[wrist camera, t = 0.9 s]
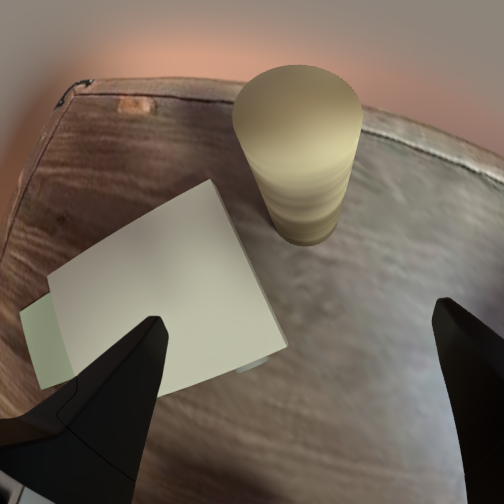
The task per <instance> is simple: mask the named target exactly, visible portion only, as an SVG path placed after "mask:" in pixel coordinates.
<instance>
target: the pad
mask: <svg viewBox="0 0 504 504" xmlns="http://www.w3.org/2000/svg"><path fill="white" fill-rule="evenodd" d="M20 317H21V321H22V326H23V330H24V334H25V338H26V342H27V346H28V349H29V353H30V356H31V360H32V363H33V366H34V370H35V373H36V376H37V379H38V382H39V385H40V388H41V390H43V389H46V388H49V387H52V386H55V385H57V384H60V383H63V382H65V381H68V380H71V379H73V378H74V377H75V375H74V372H73V369H72V366H71V364H70V361H69V358H68V354H67V351H66V348H65V345H64V342H63V338H62V335H61V332H60V328H59V325H58V321H57V317H56V313H55V309H54V305H53V301H52V297H51V293H48V294H47V295H45V296H44V297H42V298H40V299H39V300H37V301H36V302H34V303H33V304H31V305H30V306H28V307H27V308H25V309H24V310H23V311H21V312H20Z"/></svg>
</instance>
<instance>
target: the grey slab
mask: <svg viewBox="0 0 504 504" xmlns="http://www.w3.org/2000/svg"><path fill="white" fill-rule="evenodd" d="M47 279H48V284H49V288H50V293H51V297H52V301H53V305H54V309H55V313H56V317H57V321H58V325H59V328H60V332H61V335H62V338H63V342H64V345H65V348H66V351H67V354H68V358H69V361H70V364H71V366H72V369H73V372H74V375H75V376H76V375H78V374H79V373H80V372H81V371H82V370H83V369H85V368H86V367H87V366H88V365H89V364H91V363H92V362H93V361H94V360H95V359H97V358H98V357H99V356H100V355H101V354H103V353H104V352H105V351H106V350H108V349H109V348H110V347H111V346H112V345H114V344H115V343H116V342H117V341H118V340H120V339H121V338H122V337H123V336H124V335H126V334H127V333H128V332H129V331H131V330H132V329H133V328H134V327H135V326H137V325H138V324H139V323H140V322H142V321H143V320H144V319H145V318H146V317H148V316H160V317H161V318H162V320H163V322H164V324H165V327H166V329H167V331H168V334H169V341H168V347H167V353H166V359H165V365H164V371H163V377H162V381H161V385H160V388H159V392H158V396H157V397H159V396H162V395H165V394H168V393H171V392H174V391H177V390H180V389H183V388H186V387H189V386H191V385H194V384H197V383H200V382H202V381H205V380H208V379H210V378H213V377H216V376H218V375H221V374H223V373H226V372H229V371H231V370H234V369H235V370H236V372H237V373H241V372H244V371H247V370H249V369H252V368H254V367H256V366H258V365H261V364H263V363H264V362H266V361H268V360H269V359H268V357H267V355H270V354H272V353H274V352H277V351H279V350H281V349H283V348H286V347H287V346H288V342H287V340H286V338H285V336H284V333H283V331H282V329H281V327H280V325H279V323H278V320H277V318H276V316H275V314H274V312H273V310H272V307H271V305H270V303H269V301H268V299H267V297H266V294H265V292H264V290H263V288H262V286H261V283H260V281H259V279H258V277H257V275H256V273H255V270H254V268H253V266H252V264H251V262H250V260H249V257H248V255H247V253H246V251H245V249H244V246H243V244H242V242H241V240H240V238H239V235H238V233H237V231H236V229H235V227H234V225H233V222H232V220H231V218H230V216H229V214H228V211H227V209H226V207H225V205H224V203H223V200H222V198H221V196H220V194H219V192H218V189H217V187H216V186H215V185H214V183H213V182H212V181H211V179H209V180H207V181H205V182H203V183H201V184H199V185H197V186H195V187H194V188H192V189H190V190H188V191H186V192H184V193H182V194H181V195H179V196H177V197H175V198H173V199H171V200H170V201H168V202H166V203H164V204H162V205H161V206H159V207H157V208H155V209H154V210H152V211H150V212H148V213H147V214H145V215H143V216H141V217H140V218H138V219H136V220H135V221H133V222H131V223H130V224H128V225H126V226H124V227H123V228H121V229H119V230H118V231H116V232H115V233H113V234H111V235H110V236H108V237H106V238H105V239H103V240H102V241H100V242H98V243H97V244H95V245H94V246H92V247H90V248H89V249H87V250H86V251H84V252H83V253H81V254H80V255H78V256H76V257H75V258H73V259H72V260H70V261H69V262H67V263H66V264H64V265H63V266H61V267H60V268H58V269H57V270H55V271H54V272H52V273H51V274H50V275H48V276H47Z"/></svg>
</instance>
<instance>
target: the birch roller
mask: <svg viewBox="0 0 504 504" xmlns="http://www.w3.org/2000/svg"><path fill="white" fill-rule="evenodd" d="M362 121H363V112H362V106H361V103H360V101H359V98H358V96H357V95H356V93H355V92H354V90H353V89H352V88H351V87H350V85H349V84H347V82H345V81H344V80H343V79H342V78H340V77H339V76H337V75H335V74H333V73H331V72H329V71H327V70H324V69H321V68H318V67H314V66H307V65H288V66H281V67H277V68H274V69H271V70H268V71H266V72H264V73H262V74H260V75H258V76H257V77H255V78H254V79H252V80H251V81H249V82H248V83H247V84H246V85H245V86H244V87H243V89H242V90H241V91H240V93H239V94H238V96H237V98H236V100H235V102H234V106H233V110H232V123H233V127H234V131H235V133H236V135H237V138H238V140H239V142H240V145H241V147H242V149H243V152H244V154H245V156H246V159H247V161H248V163H249V166H250V168H251V171H252V173H253V175H254V178H255V180H256V182H257V185H258V187H259V190H260V192H261V195H262V197H263V199H264V202H265V204H266V207H267V209H268V212H269V214H270V217H271V219H272V221H273V224H274V226H275V229H276V230H277V232H278V233H279V235H280V236H281V237H282V238H283V239H285V240H286V241H288V242H289V243H291V244H294V245H297V246H313V245H317V244H319V243H321V242H323V241H325V240H326V239H327V238H328V237H329V236H330V235H331V234H332V233H333V231H334V229H335V227H336V225H337V221H338V218H339V214H340V211H341V207H342V203H343V200H344V196H345V192H346V188H347V185H348V181H349V177H350V173H351V169H352V165H353V161H354V157H355V153H356V148H357V144H358V140H359V136H360V131H361V127H362Z"/></svg>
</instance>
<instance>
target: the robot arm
mask: <svg viewBox="0 0 504 504" xmlns="http://www.w3.org/2000/svg"><path fill="white" fill-rule="evenodd" d="M432 327H433V331H434V336H435V341H436V346H437V351H438V357H439V362H440V366H441V370H442V373H443V377H444V380H445V384H446V388H447V392H448V395H449V399H450V403H451V407H452V412H453V416H454V420H455V425H456V430H457V435H458V440H459V445H460V450H461V456H462V462H463V469H464V474H465V475H464V476H465V484H466V492H467V502H468V504H504V339H503V338H502V337H500V336H499V335H498V334H497V333H495V332H494V331H493V330H492V329H490V328H489V327H488V326H487V325H485V324H484V323H483V322H481V321H480V320H479V319H478V318H476V317H475V316H474V315H472V314H471V313H470V312H468V311H467V310H466V309H464V308H463V307H462V306H460V305H459V304H458V303H456V302H455V301H454V300H452V299H451V298H449V297H445V298H439V299H438V300H437V301H436V305H435V308H434V312H433V315H432ZM168 341H169V334H168V331H167V329H166V327H165V324H164V322H163V320H162V318H161V317H160V316H148V317H146V318H145V319H144V320H143V321H142V322H140V323H139V324H138V325H137V326H135V327H134V328H133V329H132V330H131V331H129V332H128V333H127V334H126V335H124V336H123V337H122V338H121V339H120V340H118V341H117V342H116V343H115V344H114V345H112V346H111V347H110V348H109V349H108V350H106V351H105V352H104V353H103V354H101V355H100V356H99V357H98V358H97V359H95V360H94V361H93V362H92V363H91V364H89V365H88V366H87V367H86V368H85V369H83V370H82V371H81V372H80V373H79V374H78V375H76V376H75V377H74V378H73V379H71V380H70V381H69V382H68V383H67V384H65V385H64V386H63V387H62V388H60V389H59V390H58V391H56V392H55V393H54V394H52V395H51V396H50V397H48V398H47V399H45V400H44V401H42V402H41V403H40V404H38V405H37V406H35V407H34V408H33V409H31V410H30V411H28V412H27V413H25V414H24V415H21V416H19V417H16V418H8V419H0V504H131V502H132V498H133V493H134V489H135V484H136V483H135V482H136V479H137V475H138V471H139V466H140V462H141V458H142V454H143V450H144V446H145V442H146V438H147V434H148V430H149V426H150V422H151V418H152V414H153V410H154V407H155V403H156V399H157V396H158V392H159V388H160V385H161V381H162V377H163V371H164V365H165V359H166V353H167V347H168Z"/></svg>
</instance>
